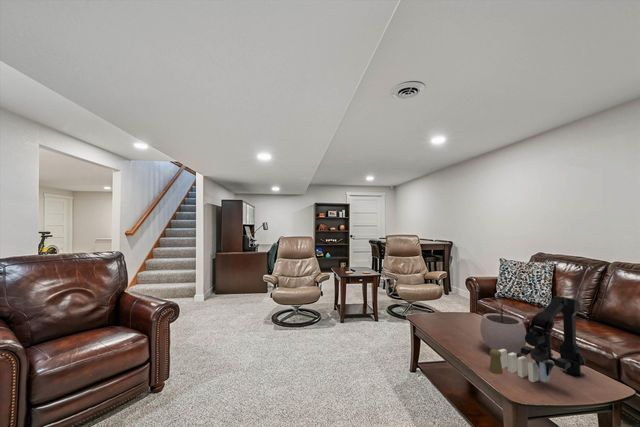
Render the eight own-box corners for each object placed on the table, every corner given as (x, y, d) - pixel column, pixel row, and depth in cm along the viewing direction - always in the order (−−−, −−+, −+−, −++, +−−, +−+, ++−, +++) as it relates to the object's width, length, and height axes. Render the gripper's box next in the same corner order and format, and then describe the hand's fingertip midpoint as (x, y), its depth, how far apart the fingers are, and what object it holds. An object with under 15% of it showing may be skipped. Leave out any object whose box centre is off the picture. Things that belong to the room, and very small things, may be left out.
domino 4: (534, 378, 141) (533, 360, 141) (538, 380, 139) (537, 361, 139) (528, 380, 139) (528, 362, 139) (533, 382, 137) (532, 364, 137)
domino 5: (545, 377, 136) (544, 359, 137) (550, 379, 135) (549, 360, 135) (540, 380, 134) (539, 361, 135) (544, 382, 132) (544, 363, 133)
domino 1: (503, 364, 154) (503, 348, 155) (507, 366, 152) (506, 350, 153) (498, 367, 152) (497, 350, 152) (502, 368, 150) (501, 351, 151)
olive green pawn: (497, 368, 151) (496, 347, 151) (505, 373, 145) (504, 352, 145) (486, 368, 151) (486, 347, 151) (494, 374, 145) (493, 352, 145)
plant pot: (481, 341, 186) (479, 296, 187) (524, 349, 173) (523, 301, 175) (480, 355, 165) (479, 305, 166) (530, 366, 153) (528, 311, 154)
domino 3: (523, 373, 145) (522, 356, 146) (527, 375, 143) (526, 357, 144) (517, 375, 143) (517, 358, 143) (522, 377, 141) (521, 359, 142)
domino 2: (513, 369, 150) (512, 352, 150) (517, 370, 148) (516, 353, 148) (507, 371, 147) (507, 354, 148) (511, 373, 146) (511, 355, 146)
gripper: (513, 338, 140) (514, 369, 139) (558, 353, 123) (560, 389, 123) (525, 334, 145) (527, 364, 144) (570, 348, 128) (572, 382, 128)
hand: (544, 374), depth 135 cm, fingers closed on domino 5, 2 cm apart
